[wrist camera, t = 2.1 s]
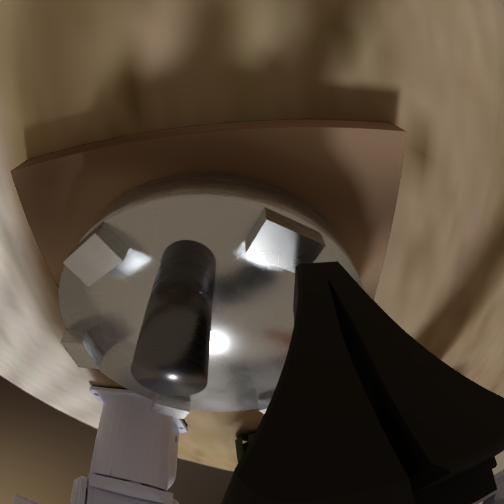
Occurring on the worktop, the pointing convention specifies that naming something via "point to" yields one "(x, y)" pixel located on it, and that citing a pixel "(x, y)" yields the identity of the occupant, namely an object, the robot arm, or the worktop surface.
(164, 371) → the grey disc with blocks
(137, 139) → the base board
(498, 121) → the worktop surface
